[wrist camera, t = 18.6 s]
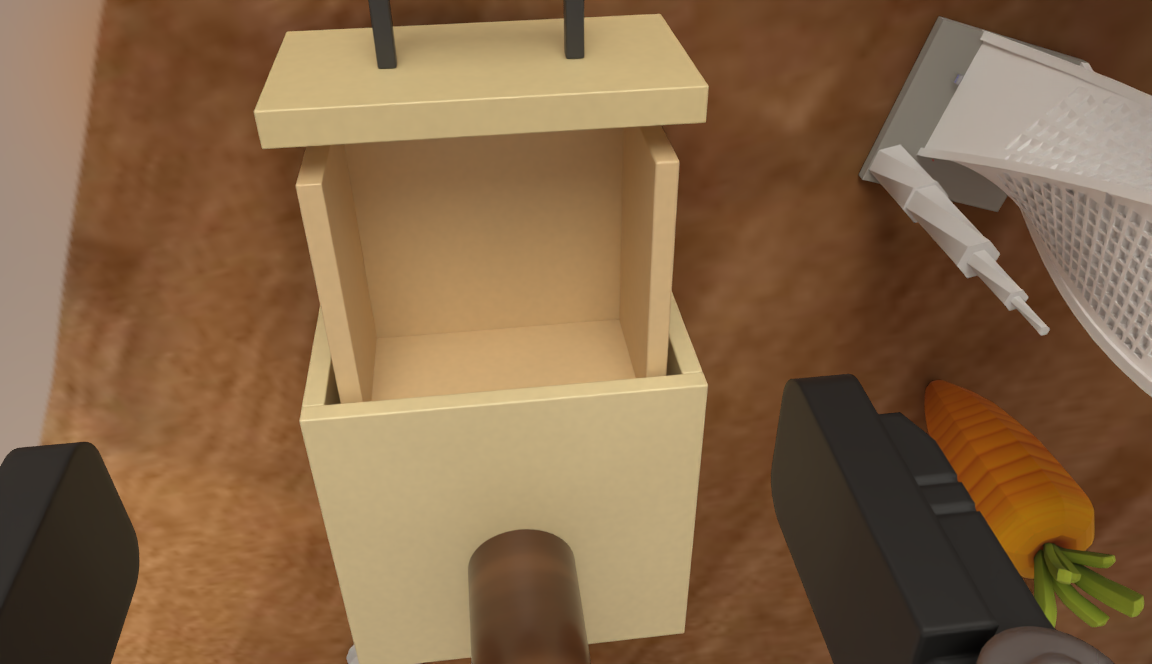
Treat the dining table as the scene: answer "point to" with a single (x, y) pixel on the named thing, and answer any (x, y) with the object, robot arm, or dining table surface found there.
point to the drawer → (487, 196)
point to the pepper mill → (526, 601)
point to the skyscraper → (1031, 175)
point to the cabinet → (507, 497)
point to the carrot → (1026, 502)
